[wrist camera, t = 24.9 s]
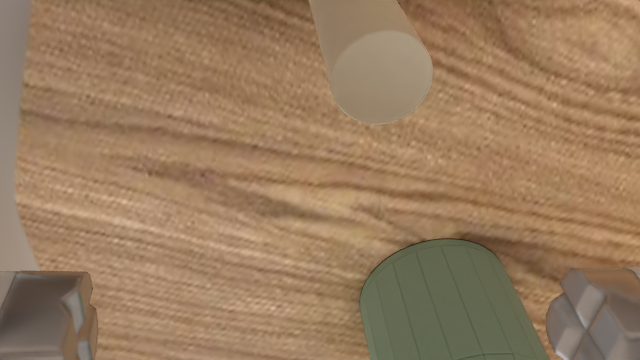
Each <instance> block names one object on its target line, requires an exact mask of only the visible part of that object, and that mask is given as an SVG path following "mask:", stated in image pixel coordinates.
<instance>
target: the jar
mask: <svg viewBox="0 0 640 360" xmlns="http://www.w3.org/2000/svg"><path fill="white" fill-rule="evenodd" d="M360 310H361V311H360V312H361V316H362V321H363V326H364V331H365V336H366V341H367V346H368V351H369V356H370V360H550V358H549V356H548V354H547V352H546V350H545V348H544V346H543V344H542V342H541V340H540V338H539V336H538V334H537V332H536V330H535V328H534V326H533V324H532V322H531V320H530V318H529V316H528V314H527V312H526V310H525V308H524V306H523V304H522V302H521V300H520V298H519V296H518V294H517V292H516V290H515V288H514V286H513V284H512V282H511V280H510V278H509V276H508V275H507V273H506V271H505V269H504V267H503V265H502V263H501V262H500V260H499V259H498V258H497V257H496V256H495V255H494V254H493V253H492V252H491V251H489V250H488V249H486V248H485V247H483V246H480V245H478V244H476V243H472V242H469V241H464V240H456V239H439V240H432V241H427V242H422V243H418V244H416V245H413V246H410V247H407V248H405V249H403V250H401V251H399V252H397V253H395V254H393V255H392V256H390V257H389V258H387V259H386V260H385V261H383V262H382V263H381V264H380V265H379V266H378V267H377V268H376V269H375V270H374V271H373V272H372V273H371V275H370V276H369V277H368V279H367V280H366V282H365V284H364V287H363V289H362V292H361V296H360Z"/></svg>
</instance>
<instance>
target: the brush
mask: <svg viewBox="0 0 640 360" xmlns="http://www.w3.org/2000/svg"><path fill="white" fill-rule="evenodd" d="M309 4H310V8H311V12H312V16H313V20H314V24H315V28H316V32H317V36H318V40H319V44H320V48H321V52H322V56H323V60H324V64H325V68H326V72H327V76H328V80H329V84H330V87H331V91H332V95H333V98H334V100H335V102H336V104H337V105H338V107H339V108H340V109H341V110H342V111H343V112H344V113H345V114H346V115H348V116H349V117H351V118H353V119H355V120H357V121H359V122H362V123H366V124H373V125H381V124H388V123H392V122H395V121H398V120H400V119H402V118H404V117H406V116H407V115H409V114H411V113H412V112H413V111H414V110H415V109H416V108H417V107H418V106H419V105H420V104H421V103H422V102H423V100H424V99H425V97H426V96H427V94H428V92H429V89H430V86H431V83H432V78H433V65H432V60H431V57H430V55H429V53H428V51H427V49H426V48H425V46H424V44H423V43H422V41H421V39H420V38H419V36H418V34H417V33H416V31H415V30H414V28H413V26H412V25H411V23H410V21H409V20H408V18H407V16H406V15H405V13H404V12H403V10H402V8H401V7H400V5H399V3H398V2H397V0H309Z"/></svg>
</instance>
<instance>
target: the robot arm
mask: <svg viewBox="0 0 640 360" xmlns="http://www.w3.org/2000/svg"><path fill="white" fill-rule="evenodd" d="M560 286H561V288H562V290H563V293H562V294H560V295H559V296H558V297H556V298H555V299H554V300H552V301H551V303H550V306H549V308H548V311H547V313H546V332H547V336H548V339H549V342H550V344H551V346H552V348H553V350H554V352H555V353H556V354H557V355H558V356H560V357H561V358H562V359H564V360H640V267H623V268H621V267H602V268H571V269H570V270H568V271H567V272H566V273H565V274H564V276H563V278H562V280H561V282H560ZM92 290H93V287H92V282H91V277H90V274H89V273H88V272H72V271H0V360H95V355H96V350H97V340H98V318H97V311H96V308H95V307H94V306H92V305H91V304H90V303H89V302H90V298H91V294H92Z"/></svg>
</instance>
